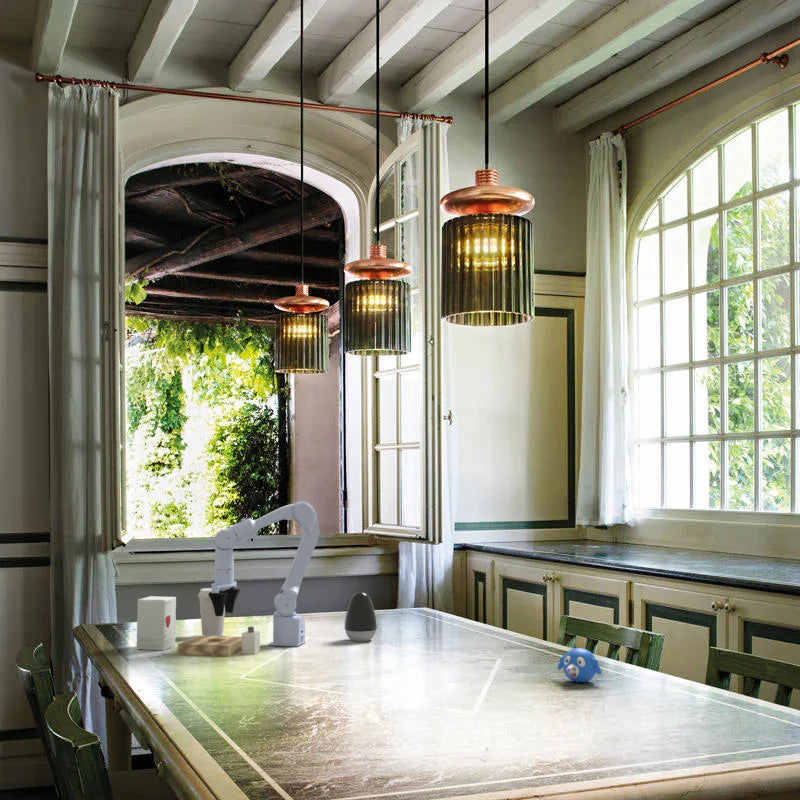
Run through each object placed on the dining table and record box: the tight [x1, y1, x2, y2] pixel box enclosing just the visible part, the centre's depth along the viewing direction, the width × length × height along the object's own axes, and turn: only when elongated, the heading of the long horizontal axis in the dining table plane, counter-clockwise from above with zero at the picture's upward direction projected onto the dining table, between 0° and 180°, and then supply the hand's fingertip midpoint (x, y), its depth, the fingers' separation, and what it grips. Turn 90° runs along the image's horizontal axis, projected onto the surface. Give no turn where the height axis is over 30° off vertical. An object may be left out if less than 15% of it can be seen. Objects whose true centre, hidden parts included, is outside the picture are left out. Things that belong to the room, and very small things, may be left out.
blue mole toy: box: [557, 647, 603, 683], centre depth 260 cm, size 12×12×8 cm
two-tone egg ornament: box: [344, 591, 378, 642], centre depth 327 cm, size 10×10×15 cm
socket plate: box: [176, 634, 242, 657], centre depth 308 cm, size 16×16×3 cm
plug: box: [241, 626, 261, 655], centre depth 305 cm, size 4×4×8 cm
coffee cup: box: [197, 587, 226, 636], centre depth 335 cm, size 10×10×15 cm
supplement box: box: [136, 595, 177, 651], centre depth 314 cm, size 9×9×15 cm
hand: (224, 614), depth 316 cm, fingers open, 7 cm apart
